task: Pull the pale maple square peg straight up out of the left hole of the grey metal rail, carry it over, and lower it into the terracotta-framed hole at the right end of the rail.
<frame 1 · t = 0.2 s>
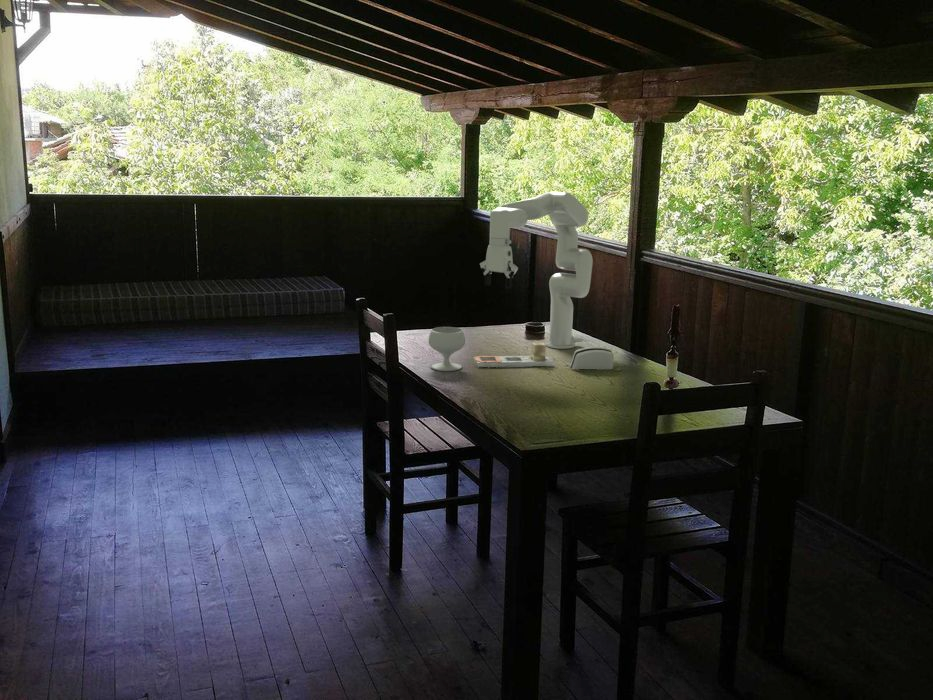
hand: (498, 286, 338), 31 cm above the table, tool pointing down, fingers open, 9 cm apart
peg: (538, 363, 347), resting in rail
chalice: (446, 368, 337), on the table
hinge: (592, 369, 340), on the table
rail: (513, 364, 345), on the table
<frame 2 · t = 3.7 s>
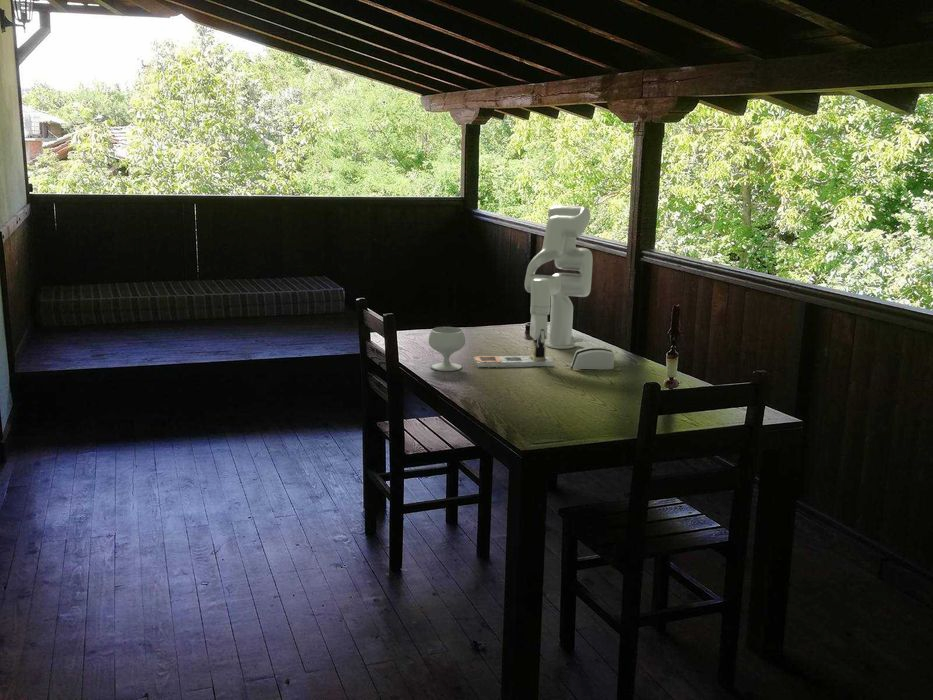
hand: (538, 355, 346), 3 cm above the table, tool pointing down, fingers closed on peg, 4 cm apart
peg: (538, 363, 346), resting in rail, touching gripper
everything else where it was.
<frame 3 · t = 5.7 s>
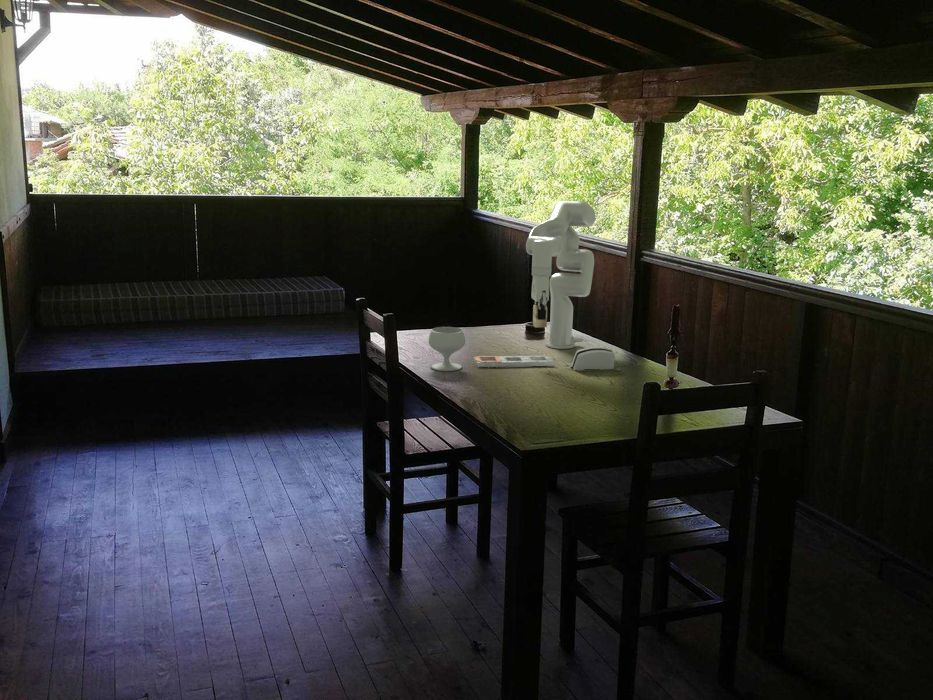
hand: (540, 317, 343), 18 cm above the table, tool pointing down, fingers closed on peg, 4 cm apart
peg: (539, 326, 343), point 15 cm above the table, touching gripper
everything else where it was.
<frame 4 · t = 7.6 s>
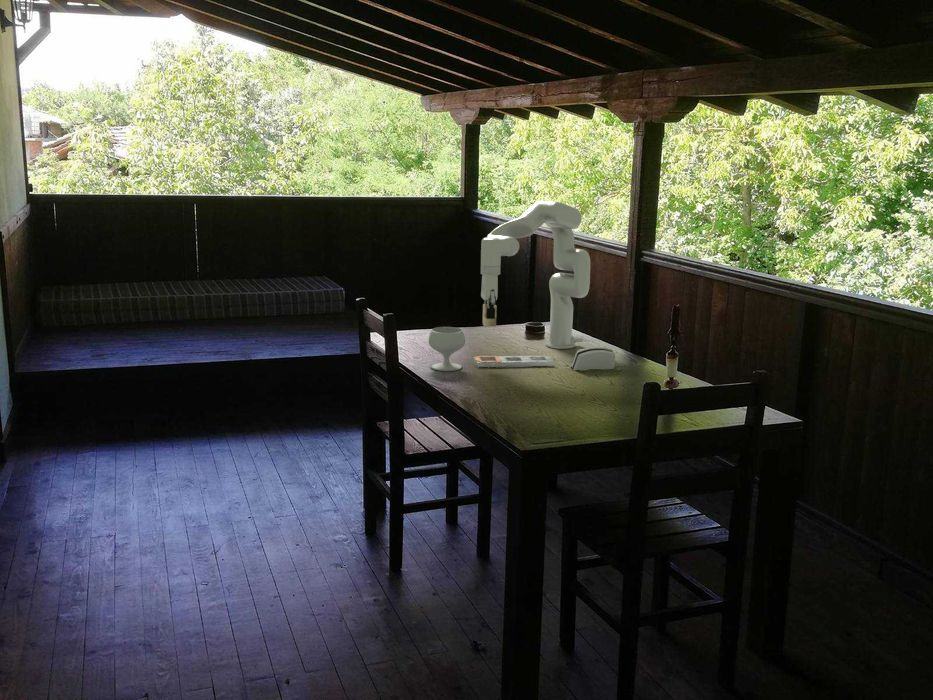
hand: (489, 316, 339), 19 cm above the table, tool pointing down, fingers closed on peg, 4 cm apart
peg: (489, 325, 340), point 16 cm above the table, touching gripper
everything else where it was.
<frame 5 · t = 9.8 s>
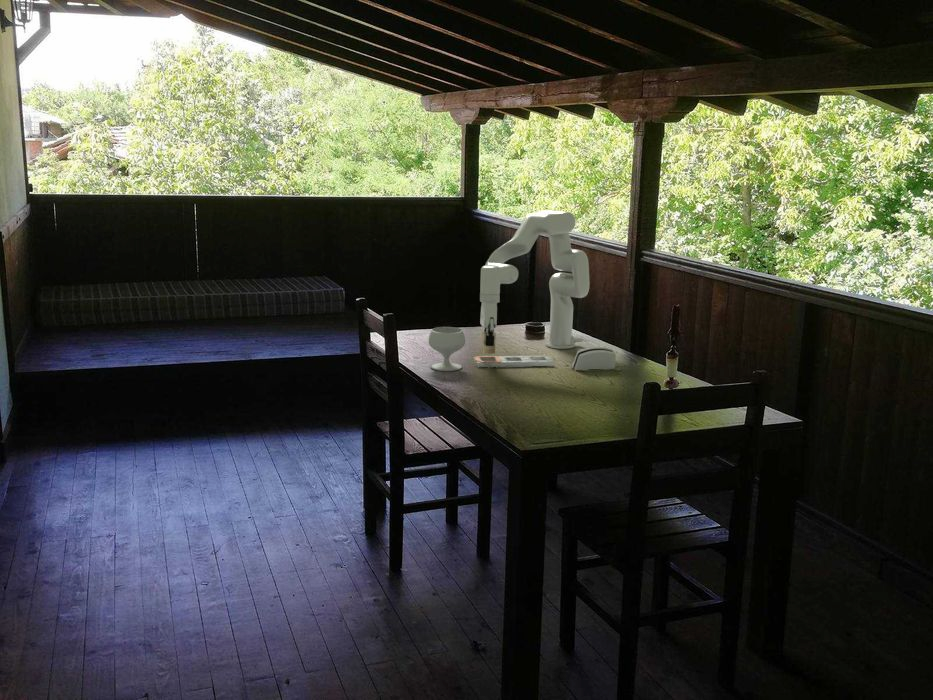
hand: (488, 343, 341), 8 cm above the table, tool pointing down, fingers closed on peg, 4 cm apart
peg: (488, 352, 342), point 5 cm above the table, touching gripper
everything else where it was.
when the fingers open (4 cm above the table, at t = 11.7 s): peg stays where it is, resting in rail.
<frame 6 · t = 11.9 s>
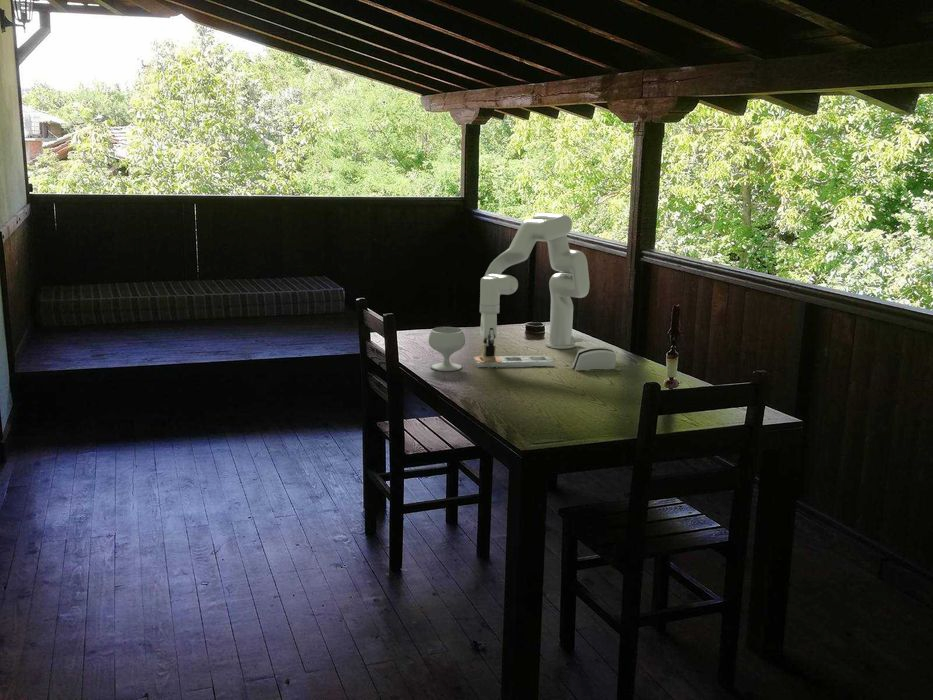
hand: (488, 353, 342), 4 cm above the table, tool pointing down, fingers open, 6 cm apart
peg: (488, 364, 343), resting in rail
everything else where it was.
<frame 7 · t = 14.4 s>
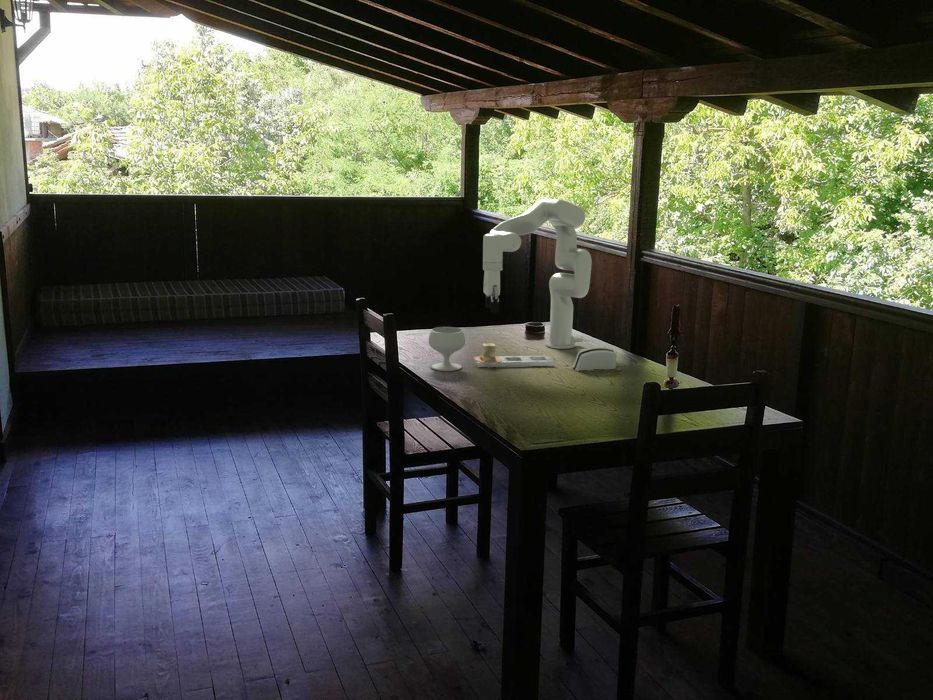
hand: (492, 309, 342), 21 cm above the table, tool pointing down, fingers open, 9 cm apart
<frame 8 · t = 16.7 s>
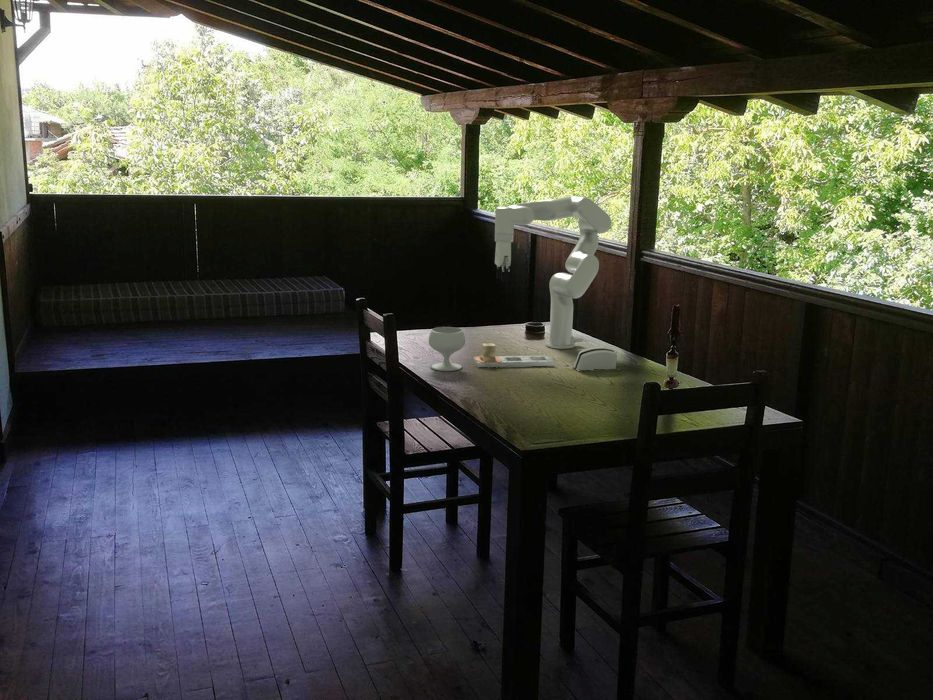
hand: (502, 280, 357), 30 cm above the table, tool pointing down, fingers open, 9 cm apart
at the end: peg 0.1 cm from the target spot on the rail, point 0.0 cm above the rail's base; peg tilted 0°; the gripper is holding nothing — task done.
